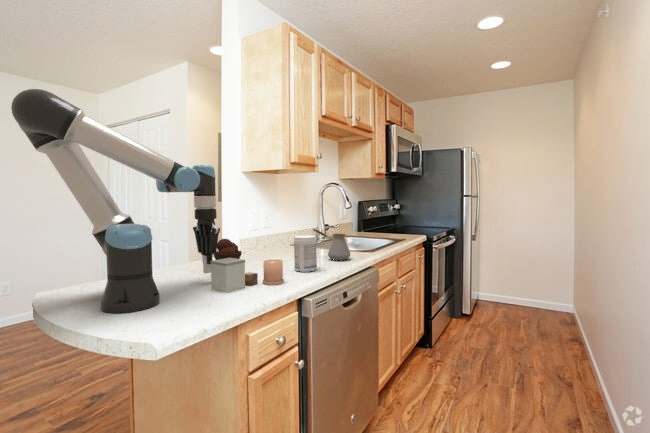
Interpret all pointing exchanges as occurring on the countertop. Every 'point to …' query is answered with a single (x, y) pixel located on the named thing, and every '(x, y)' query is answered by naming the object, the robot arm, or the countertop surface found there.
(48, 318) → the countertop surface
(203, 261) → the robot arm
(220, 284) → the grey tub
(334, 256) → the coffee pot
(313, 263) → the supplement tub
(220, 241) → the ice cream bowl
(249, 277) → the letter cube
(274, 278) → the terracotta pot
